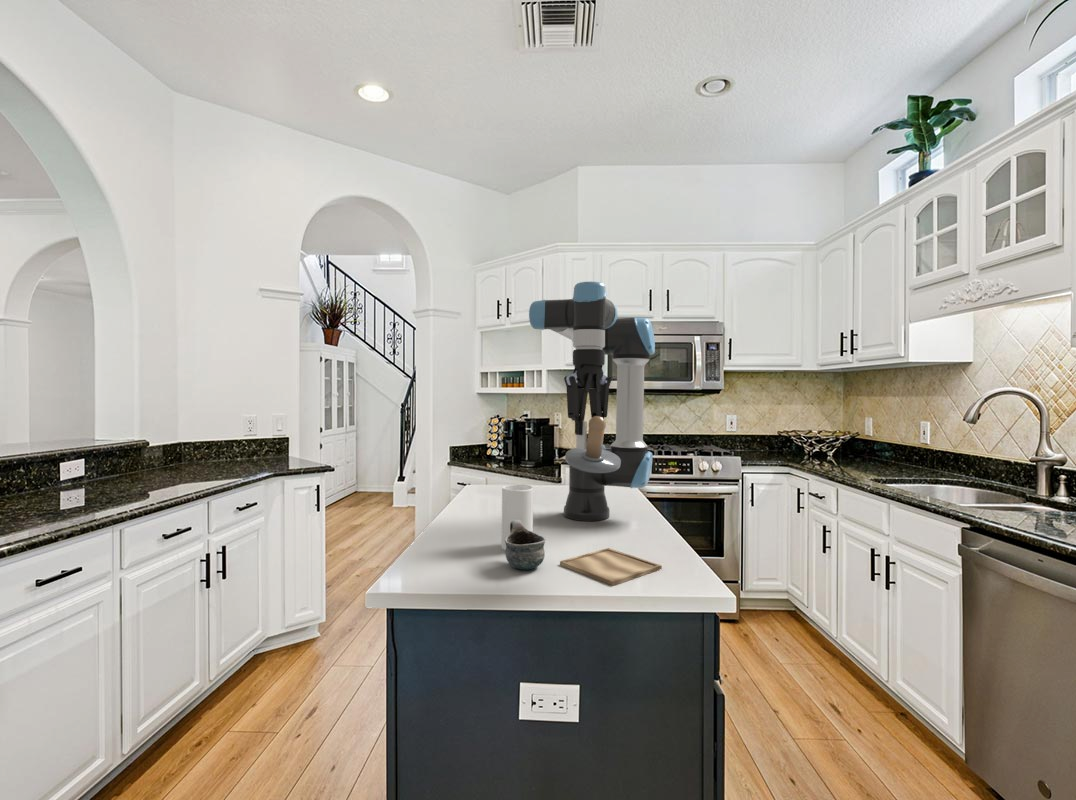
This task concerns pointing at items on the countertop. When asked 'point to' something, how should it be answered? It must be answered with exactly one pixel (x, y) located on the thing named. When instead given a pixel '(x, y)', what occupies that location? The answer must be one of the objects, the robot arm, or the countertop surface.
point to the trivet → (610, 566)
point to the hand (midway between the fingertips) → (587, 448)
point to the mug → (524, 547)
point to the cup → (516, 508)
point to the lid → (594, 451)
